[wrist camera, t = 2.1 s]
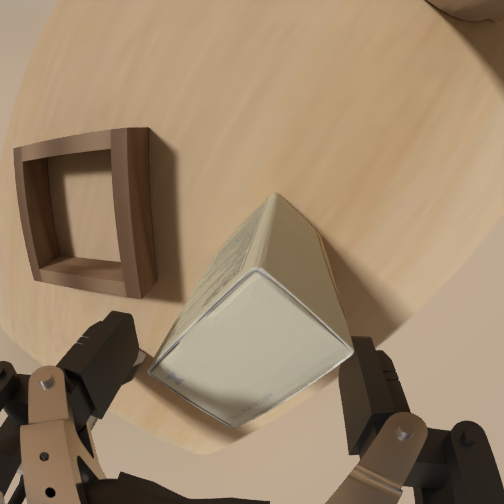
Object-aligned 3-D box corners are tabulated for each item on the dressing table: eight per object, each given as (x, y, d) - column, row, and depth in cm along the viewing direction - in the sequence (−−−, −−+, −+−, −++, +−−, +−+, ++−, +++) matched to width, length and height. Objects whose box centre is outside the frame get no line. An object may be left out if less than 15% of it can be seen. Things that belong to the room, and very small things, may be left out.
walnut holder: (148, 127, 18) (126, 127, 15) (157, 279, 22) (141, 299, 20) (37, 144, 19) (13, 148, 16) (53, 266, 23) (34, 280, 21)
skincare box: (260, 291, 22) (232, 433, 10) (213, 251, 21) (140, 374, 10) (324, 231, 19) (362, 357, 8) (275, 185, 19) (254, 264, 8)
